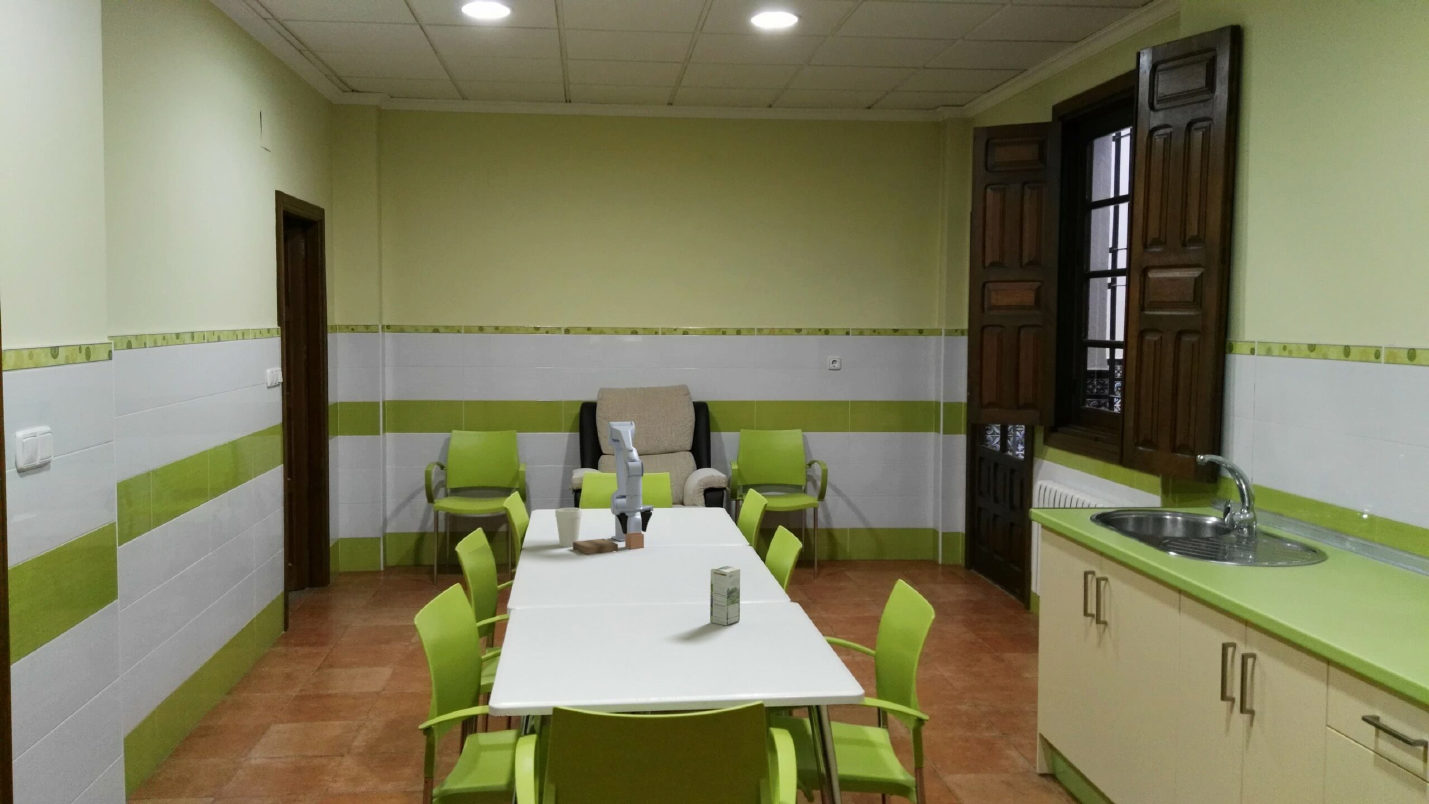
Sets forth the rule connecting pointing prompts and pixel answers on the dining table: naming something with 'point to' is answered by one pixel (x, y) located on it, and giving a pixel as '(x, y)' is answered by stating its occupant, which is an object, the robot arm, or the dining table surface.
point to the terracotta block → (634, 540)
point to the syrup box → (725, 595)
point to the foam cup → (568, 525)
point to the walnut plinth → (595, 546)
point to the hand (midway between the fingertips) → (634, 532)
